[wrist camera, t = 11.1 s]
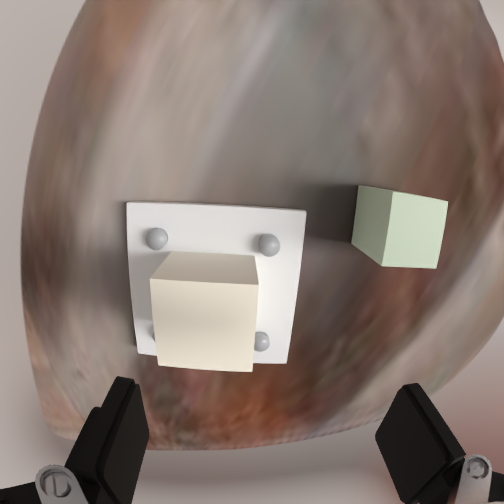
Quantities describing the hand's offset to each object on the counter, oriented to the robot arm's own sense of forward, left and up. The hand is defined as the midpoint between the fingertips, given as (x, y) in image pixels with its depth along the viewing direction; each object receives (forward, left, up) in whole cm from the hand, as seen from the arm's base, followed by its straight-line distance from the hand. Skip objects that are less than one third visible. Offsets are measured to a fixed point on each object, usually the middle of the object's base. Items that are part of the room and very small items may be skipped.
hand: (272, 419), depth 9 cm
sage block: (-5, +11, -16) cm, 20 cm away
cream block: (+2, -3, -15) cm, 15 cm away
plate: (+2, -3, -16) cm, 16 cm away
